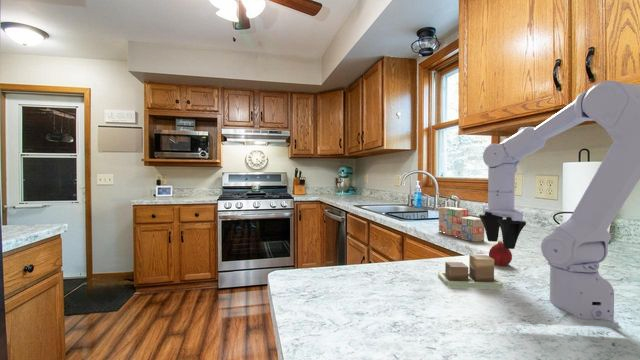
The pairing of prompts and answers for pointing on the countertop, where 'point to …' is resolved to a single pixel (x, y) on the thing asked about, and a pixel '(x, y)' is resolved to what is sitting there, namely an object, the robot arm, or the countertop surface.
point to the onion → (500, 254)
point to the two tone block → (481, 268)
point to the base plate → (472, 283)
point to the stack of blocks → (460, 224)
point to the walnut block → (456, 271)
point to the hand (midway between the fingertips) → (500, 244)
